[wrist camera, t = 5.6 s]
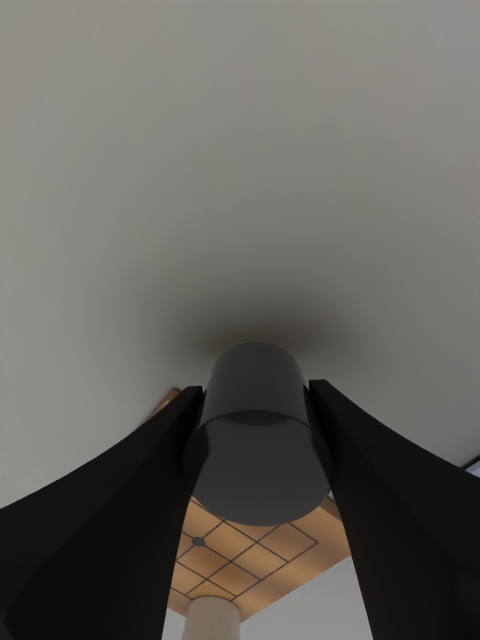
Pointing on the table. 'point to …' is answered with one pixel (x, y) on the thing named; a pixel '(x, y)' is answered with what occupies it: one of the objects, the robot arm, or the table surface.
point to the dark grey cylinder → (257, 441)
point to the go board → (251, 555)
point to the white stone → (212, 620)
